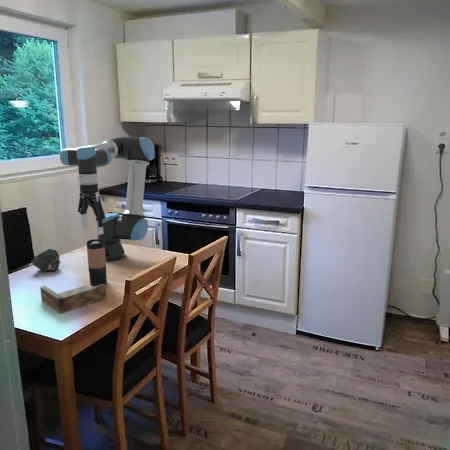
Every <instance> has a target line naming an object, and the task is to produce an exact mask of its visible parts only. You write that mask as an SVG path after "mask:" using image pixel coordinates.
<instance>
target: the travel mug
mask: <svg viewBox="0 0 450 450" xmlns="http://www.w3.org/2000/svg"><path fill="white" fill-rule="evenodd" d="M86 251H87V252H86V253H87V264H88V265H87V266H88V275H89V283H90V287H94V286H98V285H101V284H104V285H105V286H106V285H107V283H108V279H107V261H106V258H105V246H104V240H101V239H98V238H95V239H89V240H87V241H86Z"/></svg>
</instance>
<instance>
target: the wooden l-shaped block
mask: <svg viewBox="0 0 450 450" xmlns="http://www.w3.org/2000/svg"><path fill="white" fill-rule="evenodd" d="M106 288H107V287H106V284H105V285H104V284H101V285H98V286H89V285H86V284H85V285H82V286H79V287H76V288H72V289H69V290H66V291H63V292H60V293H59V292H58V293H57V292H55V291H54V290H52V289H50V287H47V286H46V285H43V286H40V287H39V289H40V296H41V301H42V302H43V303H44V304H46V305H47V306H48V307H50V308H52V309H53V310H55V311H56V312H57V313H59V314H65V313H66V312H70V311H73V310H75V309H79V308H82V307H85V306H88V305H90V304H91V305H92V304H93V303H97V302H101V301H104V300H107V289H106Z"/></svg>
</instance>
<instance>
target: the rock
mask: <svg viewBox="0 0 450 450" xmlns="http://www.w3.org/2000/svg"><path fill="white" fill-rule="evenodd" d="M31 264H32V265H33V266H34V267H36V269H38V270H39V271H41V272H48V271H53V272H55V271H56V270H58V268H60V265H61V259H60V254H59V252H58V251H57V250H56V249H53V248H48V249H46V250H44V251H42V252H40V253H38V254H37V255H36V256H34V257H33V259H32V260H31Z"/></svg>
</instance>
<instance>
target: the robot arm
mask: <svg viewBox="0 0 450 450" xmlns="http://www.w3.org/2000/svg"><path fill="white" fill-rule="evenodd" d="M154 157H155V145H154V143H153V141H152V139H150V138H149V137H144V136H120V137H115V138H111V139H106V140H104V141H103V142H102V143H97V144H96V143H95V144H92V145H86V146H78V147H76V148H63V149H62V150H61V151H60V153H59V161H60V163H61V164H62V165H64V166H69V167H72V166H74V167H75V166H76V167H78V181H79V200H78V201H79V202H78V204H77V205H78V206H77V207H78V208H77V212H78V213H79V214H80V219H81V229H82V230H85V229H89V219H88V209H89V207H90V208H91V209H92V213H94V215H95V226H96V235H97V239H101V240H104V246H105V258H106V262H109V261H110V262H111V261H112V262H113V261H118V260H120V259H123V258H124V257H126V254H125V253H126V252H125V249H124V246H123V244H122V241H121V240H125V241H126V240H128V241H142V240H143V239H145V237H146V235H147V233H148V230H149V222H148V220H147V218H146V217H145V216H146V215H145V213H144V212H143V206H144V193H145V184H146V183H145V182H146V174H147V172H146V171H147V166H149V165H150V161H152V160H153V159H154ZM113 159H120V160H121V159H123V160H126V162H127V163H128V166H129V168H128V178H127V187H126V188H127V190H126V200H125V210H124V211H123V212H122V213H121V216H120V214H119V212H112V213H106V214H105V211H104V208H103V205H102V202H101V196H100V195H98V196H97V193H98V192H99V184H98V182H99V179H98V169H97V168H100V167H106V166H108V165H110V164H111V162H112V160H113Z"/></svg>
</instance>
